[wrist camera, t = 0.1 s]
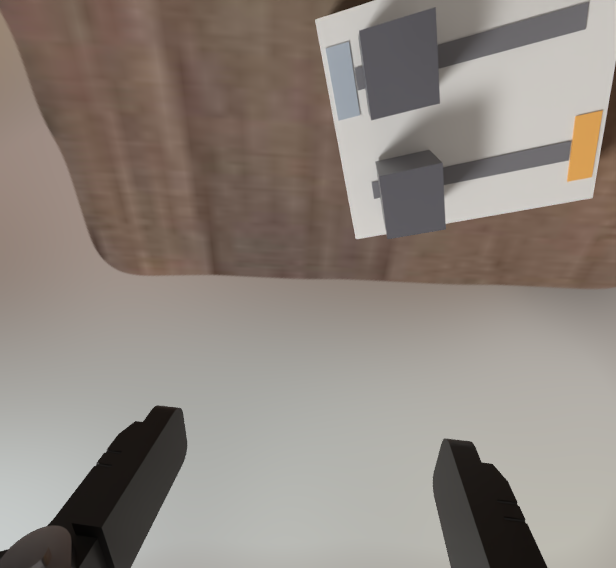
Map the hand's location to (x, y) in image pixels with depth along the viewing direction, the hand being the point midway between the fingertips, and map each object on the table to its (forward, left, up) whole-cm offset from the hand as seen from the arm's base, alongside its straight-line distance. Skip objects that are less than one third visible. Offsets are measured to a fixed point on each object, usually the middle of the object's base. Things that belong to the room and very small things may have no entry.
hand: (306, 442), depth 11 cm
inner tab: (-10, -3, -18) cm, 21 cm away
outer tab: (-5, +2, -18) cm, 19 cm away
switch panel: (-11, +3, -22) cm, 25 cm away
